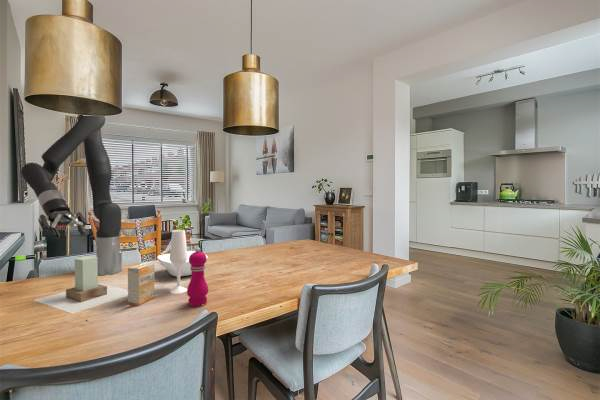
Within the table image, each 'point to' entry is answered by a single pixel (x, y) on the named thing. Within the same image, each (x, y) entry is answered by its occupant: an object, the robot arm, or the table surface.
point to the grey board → (75, 306)
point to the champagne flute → (178, 256)
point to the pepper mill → (197, 279)
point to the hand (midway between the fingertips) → (71, 235)
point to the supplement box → (140, 283)
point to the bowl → (173, 269)
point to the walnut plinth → (86, 293)
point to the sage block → (86, 273)
